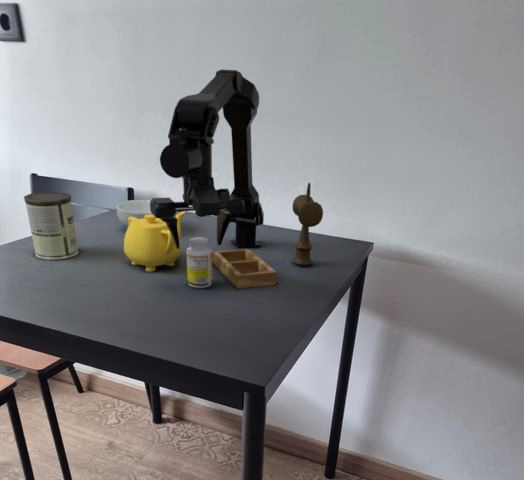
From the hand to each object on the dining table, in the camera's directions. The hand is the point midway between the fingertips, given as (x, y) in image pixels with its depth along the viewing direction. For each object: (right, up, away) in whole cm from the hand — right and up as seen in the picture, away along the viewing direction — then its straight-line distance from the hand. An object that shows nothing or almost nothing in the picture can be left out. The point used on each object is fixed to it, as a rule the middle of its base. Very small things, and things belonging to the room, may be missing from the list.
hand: (198, 246), depth 104 cm
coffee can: (-38, +2, +18) cm, 42 cm away
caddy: (+9, -4, +12) cm, 15 cm away
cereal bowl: (-21, +14, +40) cm, 47 cm away
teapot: (-12, -1, +16) cm, 20 cm away
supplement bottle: (0, -8, +5) cm, 9 cm away
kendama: (+24, 0, +20) cm, 31 cm away
